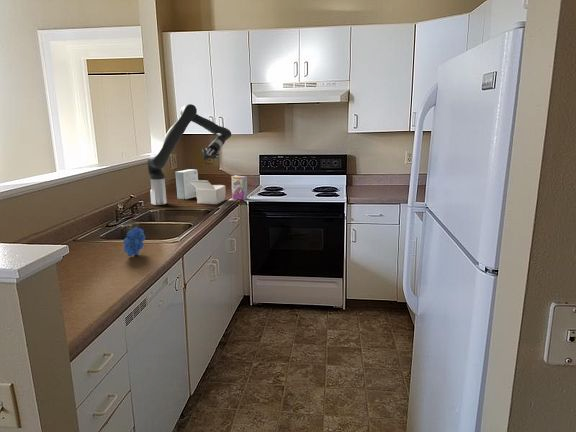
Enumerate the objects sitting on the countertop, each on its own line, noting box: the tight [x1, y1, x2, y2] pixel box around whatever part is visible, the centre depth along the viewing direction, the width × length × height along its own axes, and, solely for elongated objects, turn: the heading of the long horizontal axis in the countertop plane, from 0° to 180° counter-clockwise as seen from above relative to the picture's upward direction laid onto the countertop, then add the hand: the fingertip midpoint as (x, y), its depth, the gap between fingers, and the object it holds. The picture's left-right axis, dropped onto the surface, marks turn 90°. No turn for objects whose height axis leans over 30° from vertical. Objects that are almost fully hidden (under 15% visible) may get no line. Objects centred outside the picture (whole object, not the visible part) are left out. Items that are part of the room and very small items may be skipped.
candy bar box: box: [230, 175, 249, 201], centre depth 300 cm, size 11×5×16 cm, turn 57°
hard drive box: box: [174, 168, 199, 200], centre depth 306 cm, size 16×8×20 cm, turn 149°
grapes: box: [123, 226, 146, 257], centre depth 177 cm, size 12×7×12 cm, turn 154°
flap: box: [188, 179, 215, 189], centre depth 275 cm, size 1×13×14 cm
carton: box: [195, 184, 226, 205], centre depth 292 cm, size 17×16×10 cm
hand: (205, 159), depth 283 cm, fingers closed
